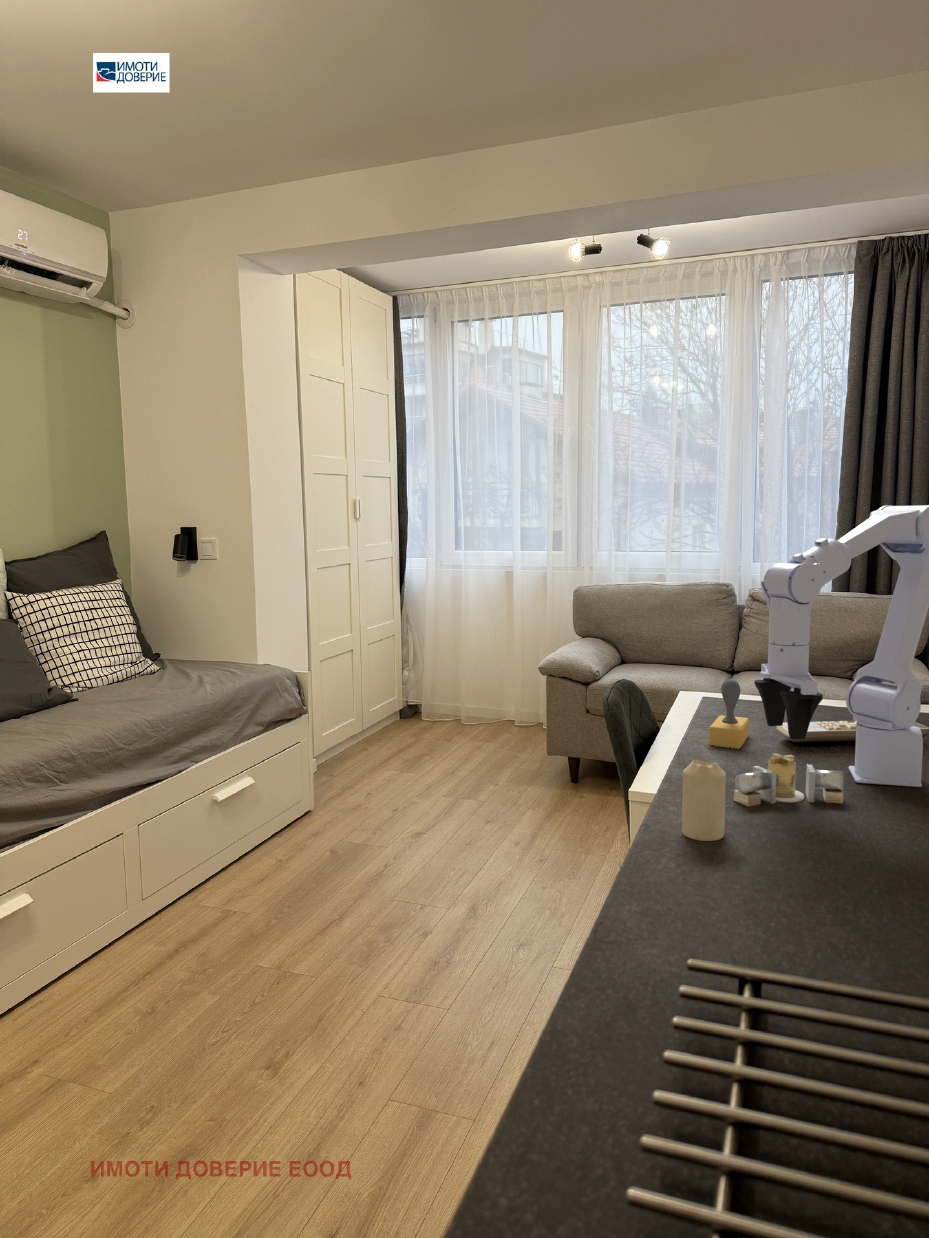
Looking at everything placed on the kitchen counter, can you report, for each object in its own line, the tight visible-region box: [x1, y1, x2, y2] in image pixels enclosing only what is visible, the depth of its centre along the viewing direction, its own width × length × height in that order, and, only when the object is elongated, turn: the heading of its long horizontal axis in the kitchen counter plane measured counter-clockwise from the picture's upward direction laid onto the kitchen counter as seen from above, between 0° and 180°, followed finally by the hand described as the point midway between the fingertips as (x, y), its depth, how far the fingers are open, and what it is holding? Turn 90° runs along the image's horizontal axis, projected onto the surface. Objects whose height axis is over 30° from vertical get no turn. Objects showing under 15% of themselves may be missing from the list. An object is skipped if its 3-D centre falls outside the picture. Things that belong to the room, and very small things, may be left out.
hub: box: [767, 753, 797, 798], centre depth 126 cm, size 4×4×6 cm
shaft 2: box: [805, 763, 845, 804], centre depth 124 cm, size 5×4×5 cm
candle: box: [681, 759, 727, 842], centre depth 111 cm, size 6×6×10 cm
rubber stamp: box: [708, 678, 750, 749], centre depth 157 cm, size 10×6×12 cm, turn 153°
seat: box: [775, 789, 805, 803], centre depth 126 cm, size 6×6×1 cm
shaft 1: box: [733, 765, 777, 808], centre depth 124 cm, size 5×4×5 cm
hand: (785, 731), depth 126 cm, fingers open, 7 cm apart
